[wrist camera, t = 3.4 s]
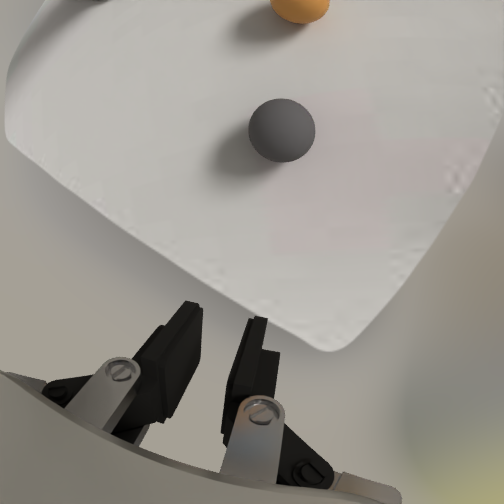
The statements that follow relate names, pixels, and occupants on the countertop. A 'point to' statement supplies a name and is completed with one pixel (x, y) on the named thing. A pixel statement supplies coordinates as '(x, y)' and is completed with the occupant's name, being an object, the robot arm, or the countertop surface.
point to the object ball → (300, 10)
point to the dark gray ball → (281, 130)
